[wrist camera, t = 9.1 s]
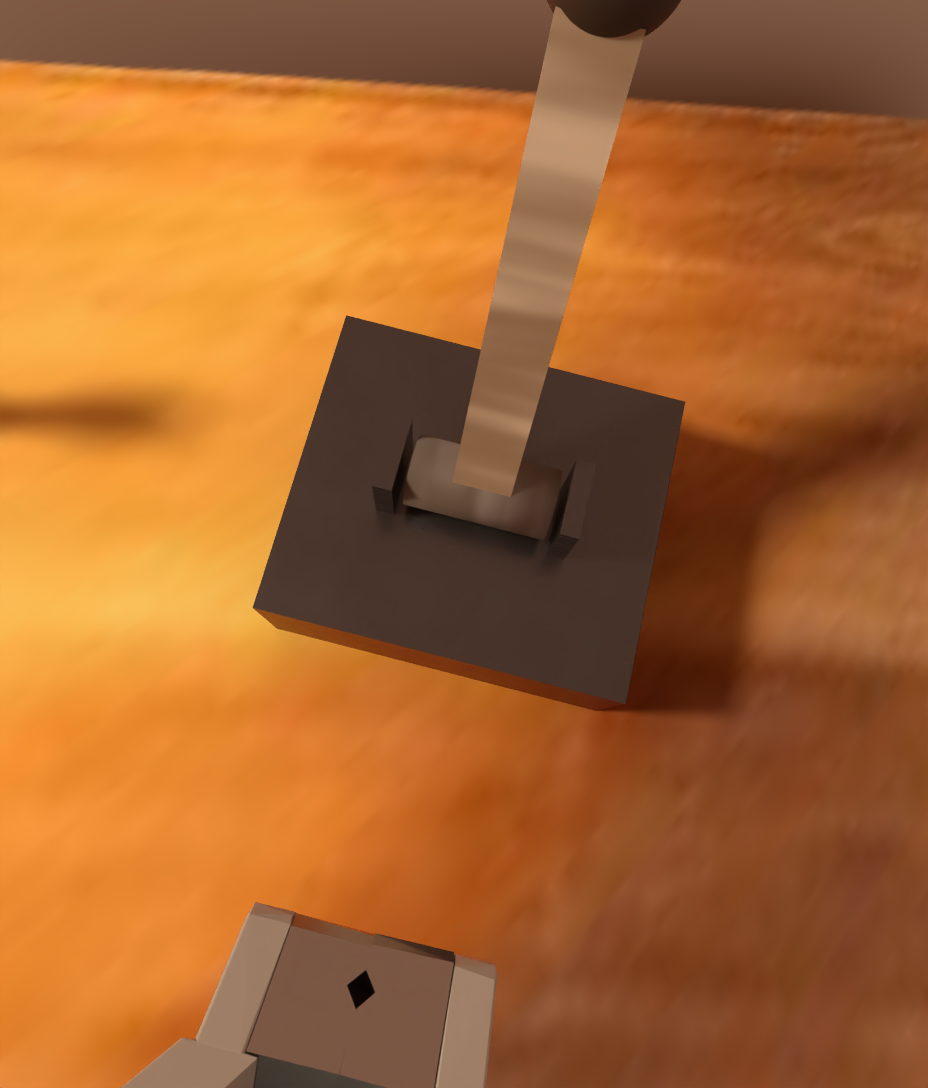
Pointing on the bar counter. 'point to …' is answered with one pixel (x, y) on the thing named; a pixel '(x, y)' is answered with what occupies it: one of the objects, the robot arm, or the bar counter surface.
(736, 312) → the bar counter surface
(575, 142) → the lever
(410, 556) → the base
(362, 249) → the bar counter surface
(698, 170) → the bar counter surface
